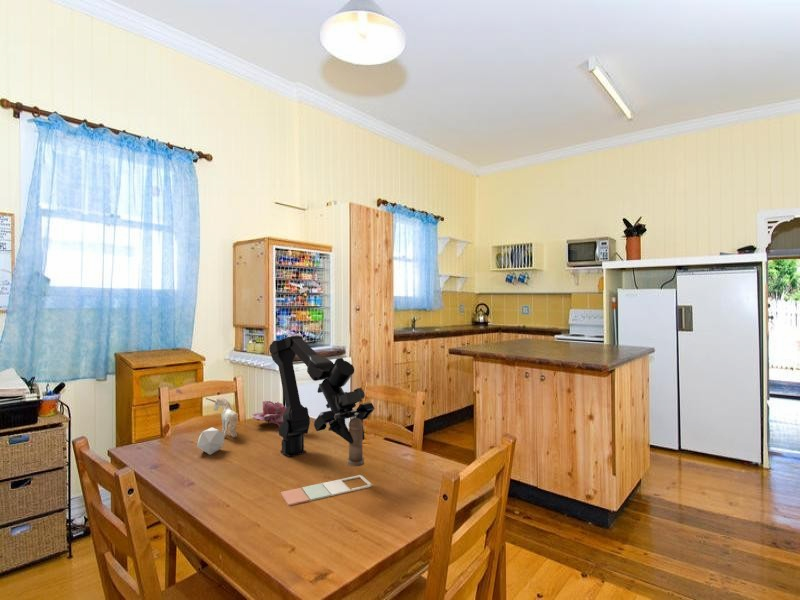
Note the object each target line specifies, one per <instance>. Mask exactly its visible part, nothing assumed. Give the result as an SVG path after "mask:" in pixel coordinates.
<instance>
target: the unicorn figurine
mask: <svg viewBox="0 0 800 600" xmlns="http://www.w3.org/2000/svg"><path fill="white" fill-rule="evenodd" d="M205 400H208V401H210V402H212V403H214V407H213V410H214V411H218V410H219V409H220V407H222V411H221V415H220V417H221V418H220V419H221V422H222V429H221V432H222V433H223V434H224V435H225V436H224V439H226V438H227V437H228V436H229V437H230V436H231V437H232V438H237V435H238V434H237V421H238V413H237V412H235V411H234V410H232V406H231V403H230V401H228V400H226V398H225V397H217V398H215V399H211V398H208V397H205ZM227 432H228V436H227ZM225 437H226V438H225Z"/></svg>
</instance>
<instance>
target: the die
mask: <svg viewBox="0 0 800 600" xmlns="http://www.w3.org/2000/svg"><path fill="white" fill-rule="evenodd" d="M224 436H225V435H224V434H223V433H222V431H220V430H219V429H217V428H215V427H213V426H212V427H209V428H208V429H205V430H203V431H202V432H201V434H200V435H199V437H198V441H197V445H196V447H197V448H198V449H199V450H201V451H203V452H204V453H206V454H208V455H209V456H210V455H213V454H214V453H216V452H218V451H220V450H221V449H222V447H223V445H224V442H225V438H224Z"/></svg>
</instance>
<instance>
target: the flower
mask: <svg viewBox="0 0 800 600" xmlns="http://www.w3.org/2000/svg"><path fill="white" fill-rule="evenodd" d="M285 409H286V405H284V404H283V403H281V402H279V401H277V402H273V401H271V400H265V401H264V400H263V401H262V412H253V413H252V416H253V417H252V418H253V419H254V420H256V421H263V422H265V423H267V424H268V426H269V424H274V425H277V427H278V428H280V426H281V425H282V423H283V414H284V412H285Z"/></svg>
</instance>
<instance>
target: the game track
mask: <svg viewBox="0 0 800 600" xmlns="http://www.w3.org/2000/svg"><path fill="white" fill-rule="evenodd" d="M354 479H361V480H362V481H363V483H366V484H365V485H362V486H357V487H352V488H351V489H350V487H348V485H347V484H346V483H345V481H349V480H354ZM373 486H374V485H373V484H372V483H371V482H370V481H369V480H368V479H366V477H364V476H363V475H361V474H358V475H354V476H350V477H349V476H348V477H345V478H340V479H335V480H331V481H327V482H326V481H324V482H320V483H315V484H310V485H307V486H303V487H297V488H292V489H287V490H285V491H284V490H283V491H280V495H281V497H282V498H283V500H284V501H285V503H286V505H287V506H288V507H290V506H294V505H298V504H302V503H307V502H312V501H316V500H319V499H324V498H328V497H331V496H332V497H333V496H338V495H341V494H346V493H350V492H354V491H359V490H364V489H367V488H372V487H373Z"/></svg>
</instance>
